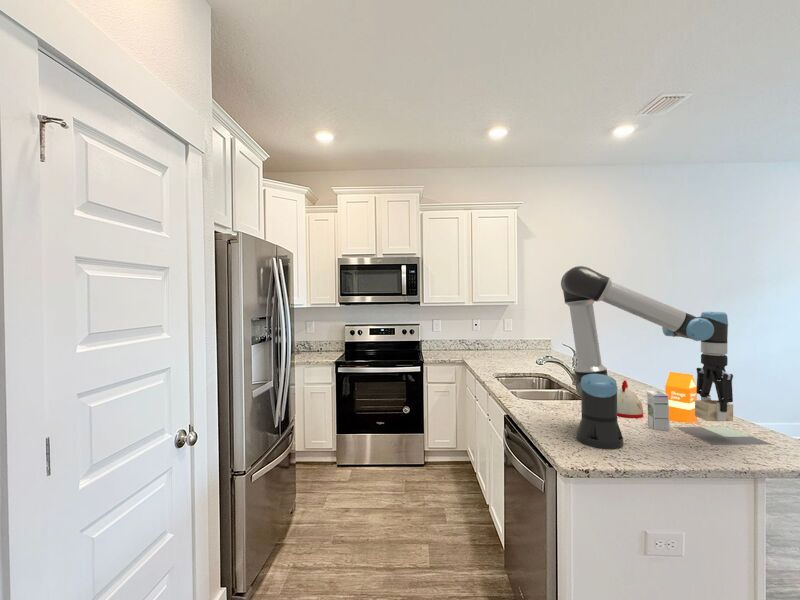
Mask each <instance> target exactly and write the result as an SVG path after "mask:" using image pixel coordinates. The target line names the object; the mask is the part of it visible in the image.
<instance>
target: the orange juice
mask: <svg viewBox="0 0 800 600" xmlns="http://www.w3.org/2000/svg"><path fill="white" fill-rule="evenodd" d="M695 381H696V380H695V378H694V376H693V374H689V373H681V372H673V371H669V372H668V376H667V379H666V383H665V387H664V388H665V389H664V391H665V392H664V393H666V394H668V399H669V421H671V420H672V422H675V423H676V422H677V423H687V424H692V423H697V422H698V417H696V416H695V400H698V394H697V393H696V389H697V383H696V382H695Z"/></svg>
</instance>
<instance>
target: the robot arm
mask: <svg viewBox="0 0 800 600" xmlns="http://www.w3.org/2000/svg"><path fill="white" fill-rule="evenodd" d="M560 286H561V289H562V293H563V298H564V304H565V305H567V306H568V307H569V311H570V319H571V320H570V321H571V326H572V327H571V328H572V333H573V340H574V347H575V355H576V361H577V366H576V367H575V368H574V374H575V375H574V376H575V385H574V386H575V390H576V391H577V392H576V393H578V395H579V397H580V403H581V404H580V405H581V406H580V407H581V410H580V411H581V419H580V421H579V425H578V427H577V430H576V440H577V442H579V443H581V444H584V445H587V446H590V447H593V448H598V449H620V448H623V446H624V436H623V435H622V431H621V428H620V425H619V422H618V417H617V390H618V389H619V388H618V384H617V380H616V379H615V377H614V378H613V377H612V376H609V374H608V369H607V367H606V366H604V364H602V358H601V350H600V345H599V344H600V343H599V339H598V331H597V324H596V316H595V310H594V303H595V302H600V301H601V302H604V303H606V304H609V305H611V306H613V307H616V308H618V309H620V310H623V311H624V312H626V313H630V314H632V315H635V316H636V317H639V318H640V319H644V320H645V321H648V322H651V323H653V324H655V325H657V326H660V327H661V330H662V333H663V335H664V336H666V337H673V338H675V337H676V338H677V337H679V338H685V339H690V340H692V341H694V342H700V352H701V354H700V364H702V367H696V368H695V369H696V375H697V376H696V387H697V389H696V393H697V395H699V396H700V400H712V398H711V397H712V396H711V395H710V394H711V391H712V390H711V389H712V386H713V384H714V387H715V391H716V394H717V400H719V401H717V421H716V422H727V421H726V412H727V403H733V402H734V401H733V400H734V399H733V398H734V397H733V378H734V374H732V373H728V372H727V371H726V369H725V368H726V367H727V366H728V356H727V355H728V331H729V321H728V319H729V318H728V314H727V313H726V312H724V311H702V312H701V313H700V316H695V315H693V314H691V313H690V314H689V313H687V312H685V311H683V310H681V309H678V308H676V307H674V306H671V305H668V304H666V303H664V302H661V301H659V300H657V299H654V298H651V297H649V296H646V295H644V294H642V293H640V292H637V291H634V290H632V289H630V288H628V287H624V286H622V285H620V284H618V283H615V282H614V281H613V282H612V280H611V278H610V277H609V276H606V275H604V274H602V273H600V272H597V271H596V270H594V269H592V268H590V267H587V266H584V265H583V266H582V265H579V266H574V267H572V268H570V269H569V270H567V271H566V272H565V273H563V275H562V277H561V281H560Z"/></svg>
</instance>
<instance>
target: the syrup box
mask: <svg viewBox="0 0 800 600" xmlns="http://www.w3.org/2000/svg"><path fill="white" fill-rule="evenodd" d="M646 393H647V394H646V398H647V399H646V401H647V403H646V404H647V425H648V427H649V428H651V429H652V430H655V431H671V430H670V420H669V399H668V394H666V393H665V392H664V391H661V390H659V391H658V390H647V391H646Z"/></svg>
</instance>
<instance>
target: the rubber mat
mask: <svg viewBox="0 0 800 600" xmlns="http://www.w3.org/2000/svg"><path fill="white" fill-rule="evenodd" d="M673 428H675V429H677V430H679V431H681V432H683V433H685V434H688V435H690V436H692V437H694V438H697V439H698V440H701V441H703V442H706V443H707V444H710V445H713V446H731V445H733V446H734V445H736V446H737V445H738V446H739V445H740V446H742V445H744V446H745V445H748V446H749V445H754V446H755V445H772V443H771V442H767V441H765V440H763V439H760V438H757V437H755V436H752V435H750V434H748V433H744V432H742V431H739V430H736V429H733V428H731V427H728V426H674V427H673Z"/></svg>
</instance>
